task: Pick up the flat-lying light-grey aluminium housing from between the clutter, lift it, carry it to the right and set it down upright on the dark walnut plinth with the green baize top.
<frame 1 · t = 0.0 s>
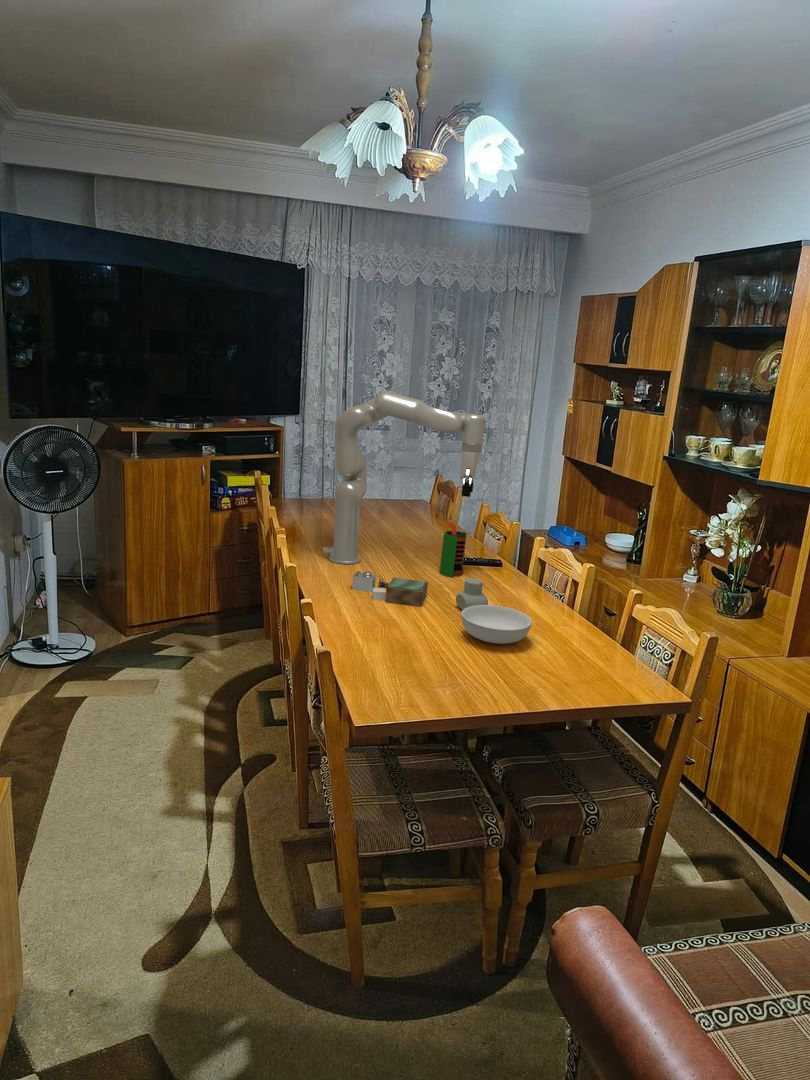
hand: (467, 494, 277), 31 cm above the table, fingers open, 9 cm apart
housing: (363, 589, 258), on the table
grey pipe tee: (470, 610, 246), on the table
plinth: (406, 598, 251), on the table
serving bowl: (494, 638, 223), on the table
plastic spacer: (378, 598, 250), on the table
motor: (451, 573, 285), on the table
loose bolt: (389, 587, 262), on the table
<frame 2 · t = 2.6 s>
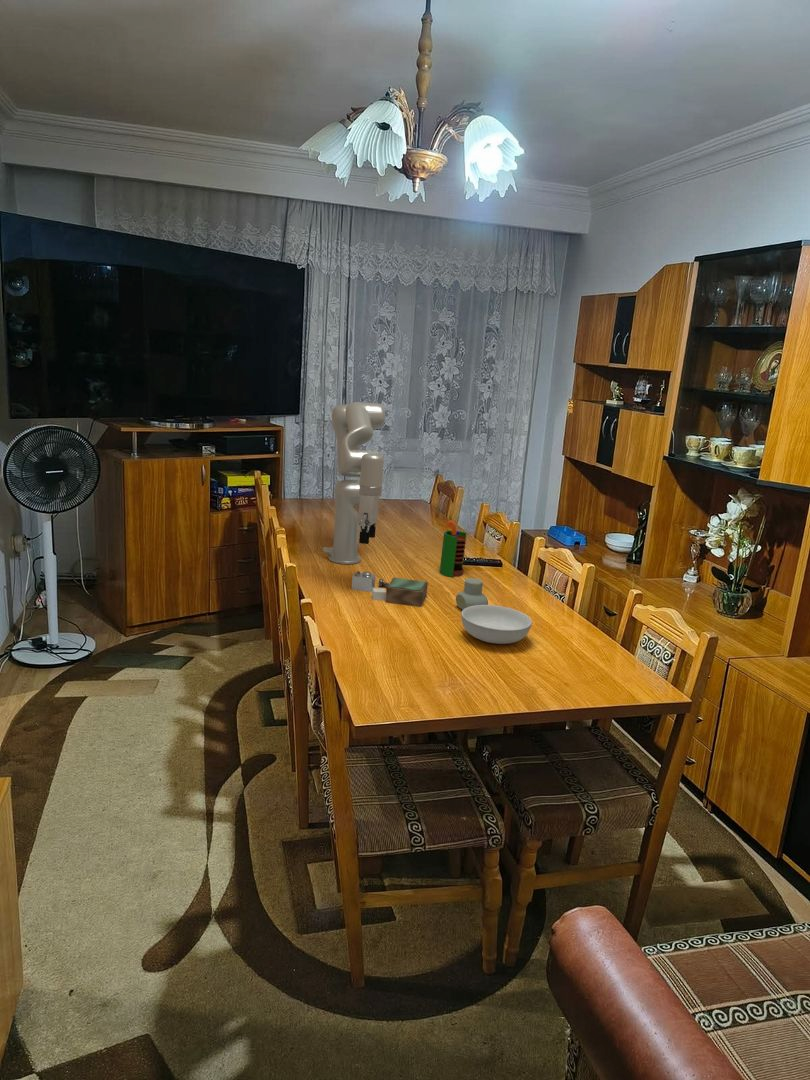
hand: (367, 540, 254), 17 cm above the table, fingers open, 9 cm apart
nothing on the table moved.
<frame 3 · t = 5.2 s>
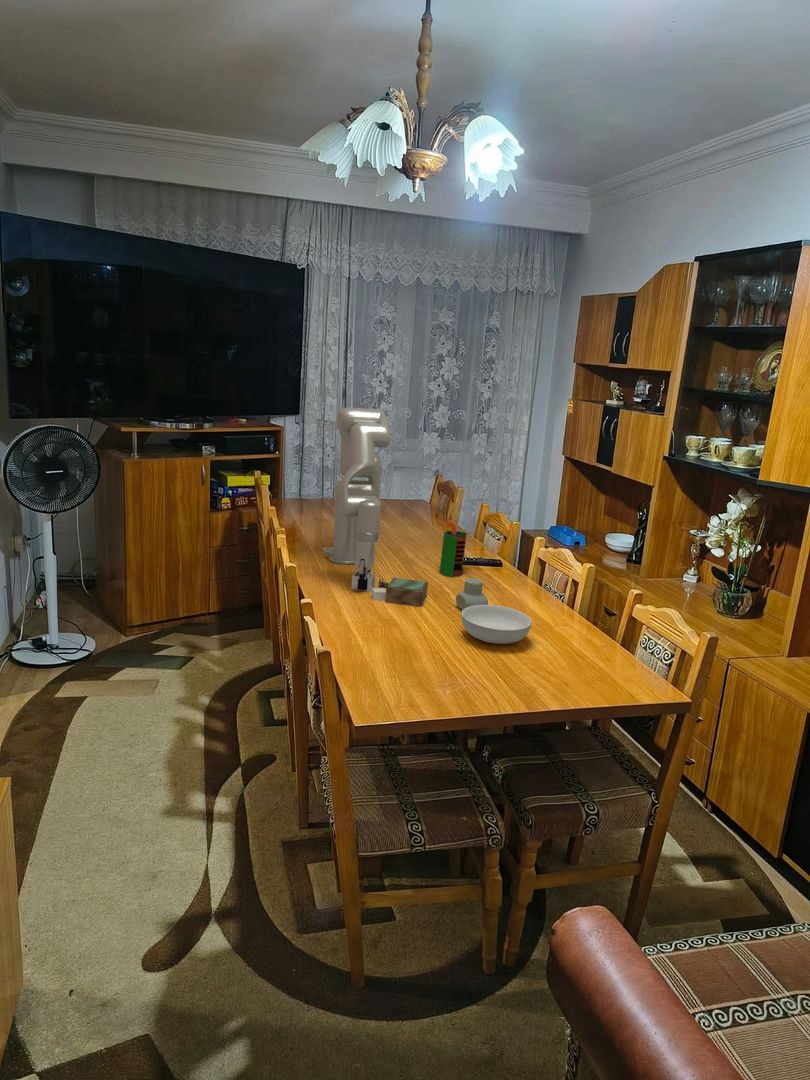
hand: (363, 586, 258), 1 cm above the table, fingers closed on housing, 5 cm apart
housing: (362, 588, 258), on the table, touching gripper
everything else where it was.
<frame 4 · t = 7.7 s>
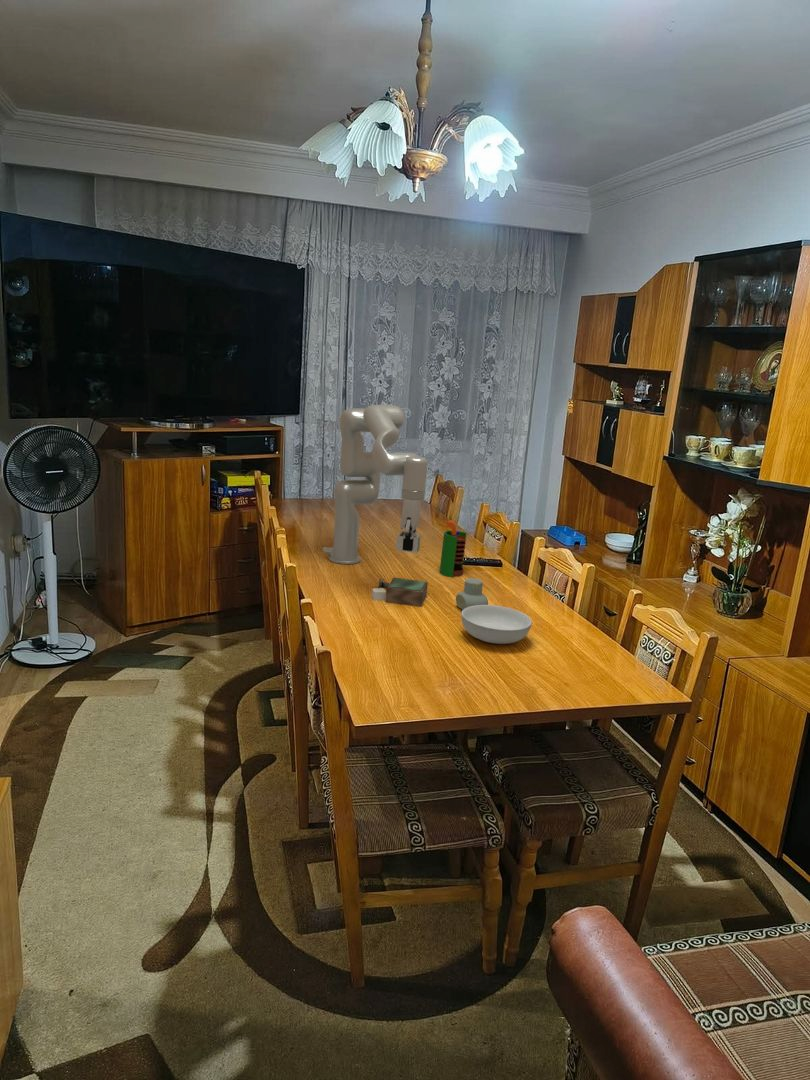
hand: (408, 547, 247), 18 cm above the table, fingers closed on housing, 5 cm apart
housing: (407, 549, 247), point 17 cm above the table, touching gripper
everything else where it was.
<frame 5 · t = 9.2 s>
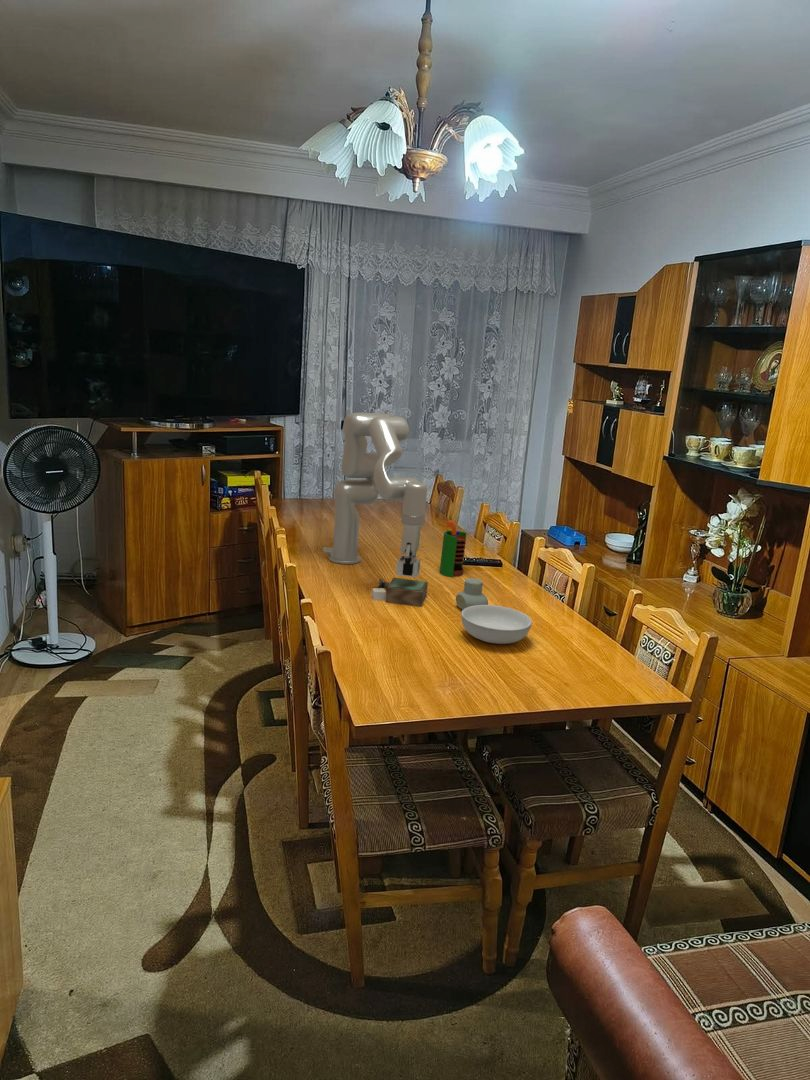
hand: (408, 572, 249), 9 cm above the table, fingers closed on housing, 5 cm apart
housing: (407, 574, 249), point 9 cm above the table, touching gripper
everything else where it was.
when the fingers open (7 cm above the table, at t = 10.5 s): housing stays where it is, resting on plinth.
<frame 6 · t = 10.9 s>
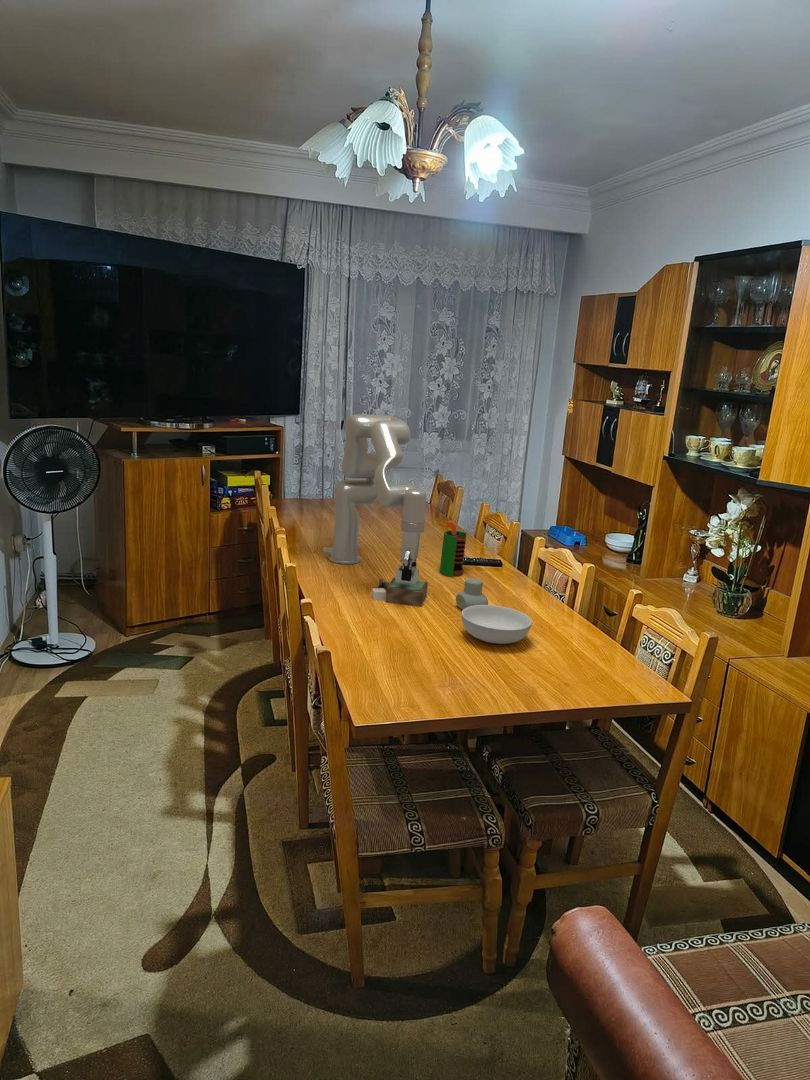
hand: (408, 576, 249), 8 cm above the table, fingers open, 9 cm apart
housing: (406, 583, 250), point 5 cm above the table, touching plinth
everything else where it was.
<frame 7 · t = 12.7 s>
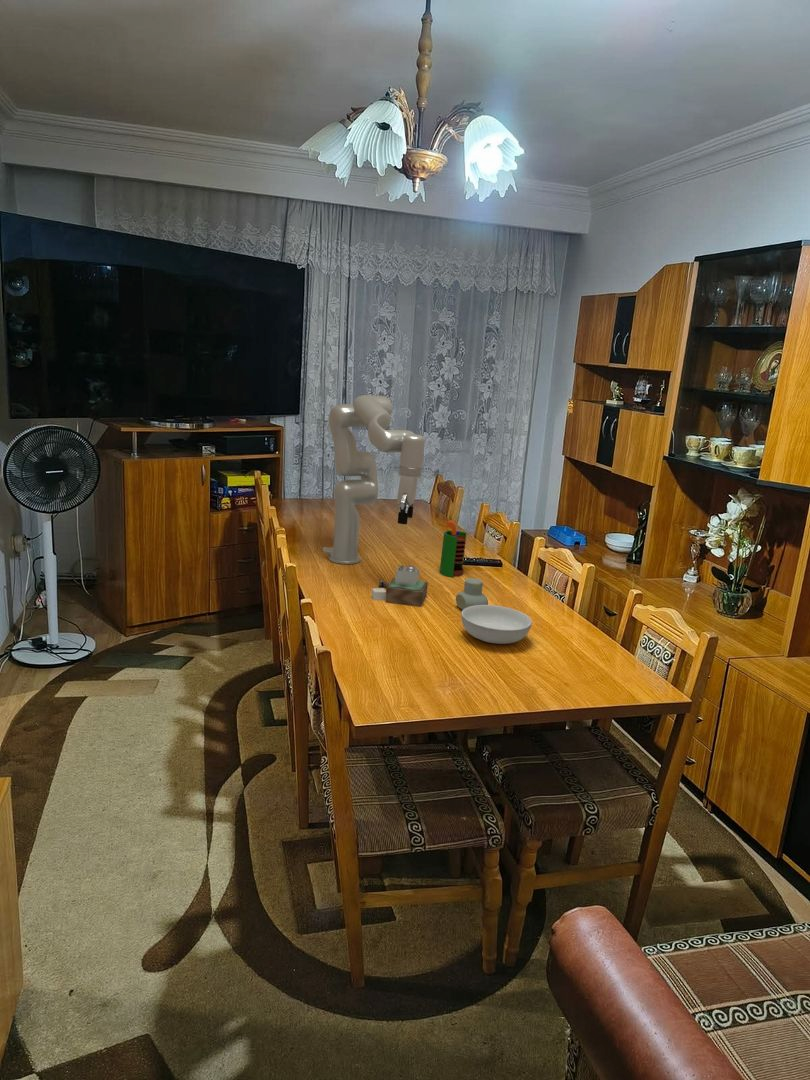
hand: (404, 520, 255), 25 cm above the table, fingers open, 9 cm apart
nothing on the table moved.
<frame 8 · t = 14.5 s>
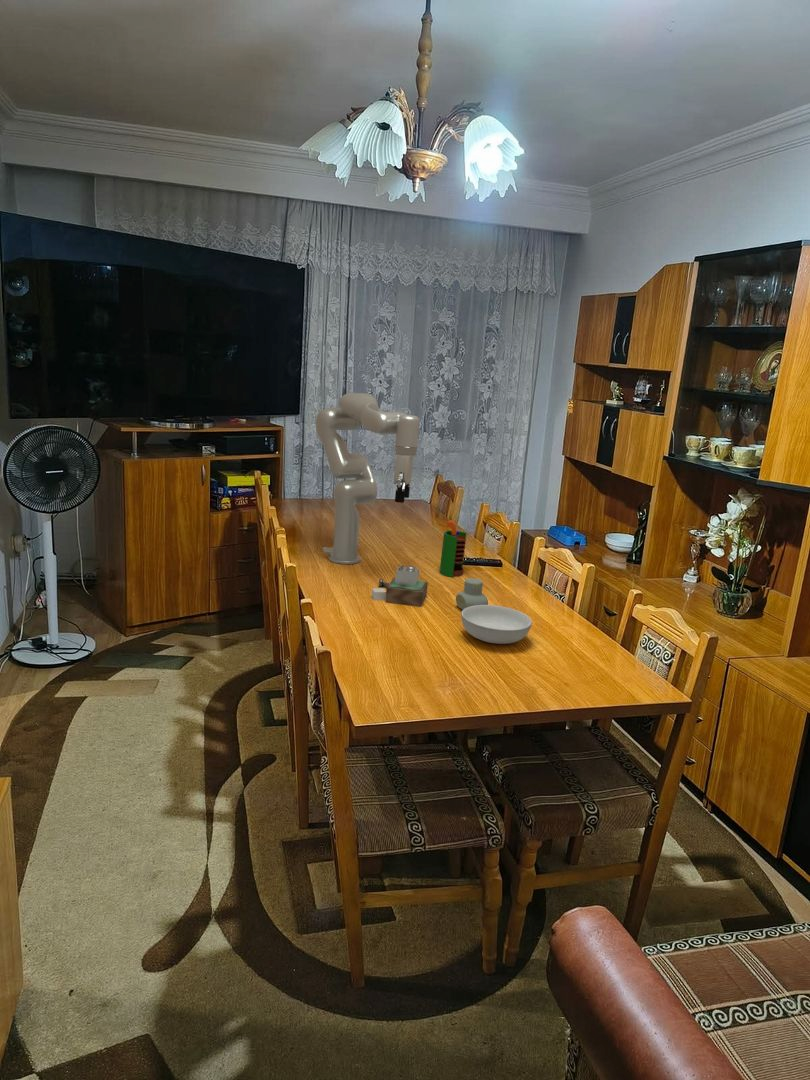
hand: (402, 499, 261), 30 cm above the table, fingers open, 9 cm apart
nothing on the table moved.
at the end: housing inside the target area on the plinth (0.4 cm from its centre), point 5.3 cm above the plinth's base; housing tilted 0°; the gripper is holding nothing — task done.
